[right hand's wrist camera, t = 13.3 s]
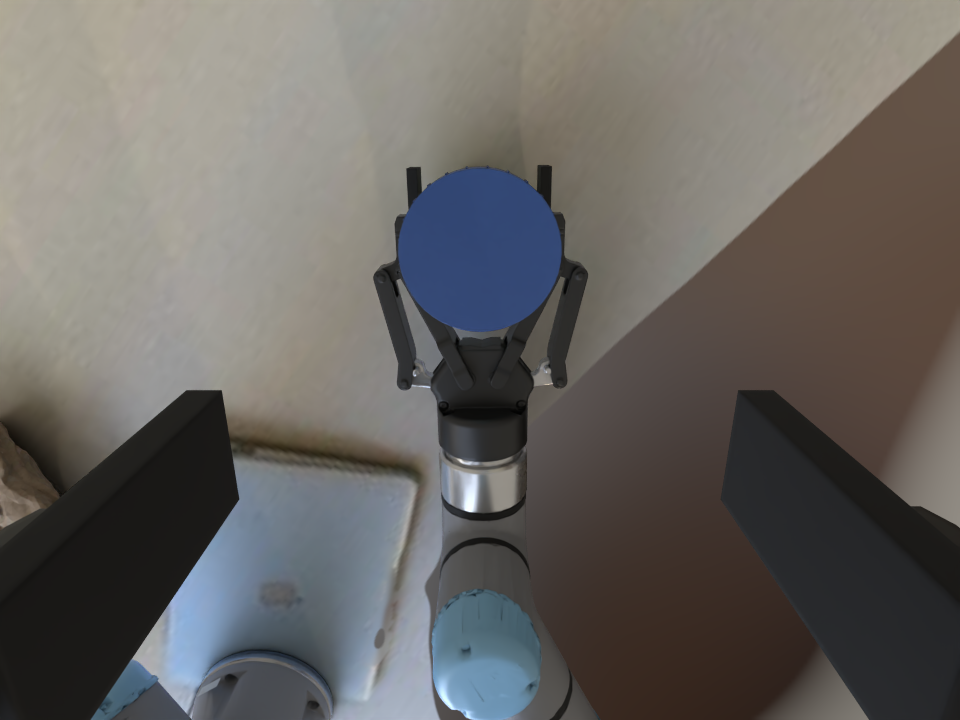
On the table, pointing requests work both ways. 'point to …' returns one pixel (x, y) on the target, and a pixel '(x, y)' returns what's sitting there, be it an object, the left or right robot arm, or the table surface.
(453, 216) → the lid
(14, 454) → the stone
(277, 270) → the table surface
